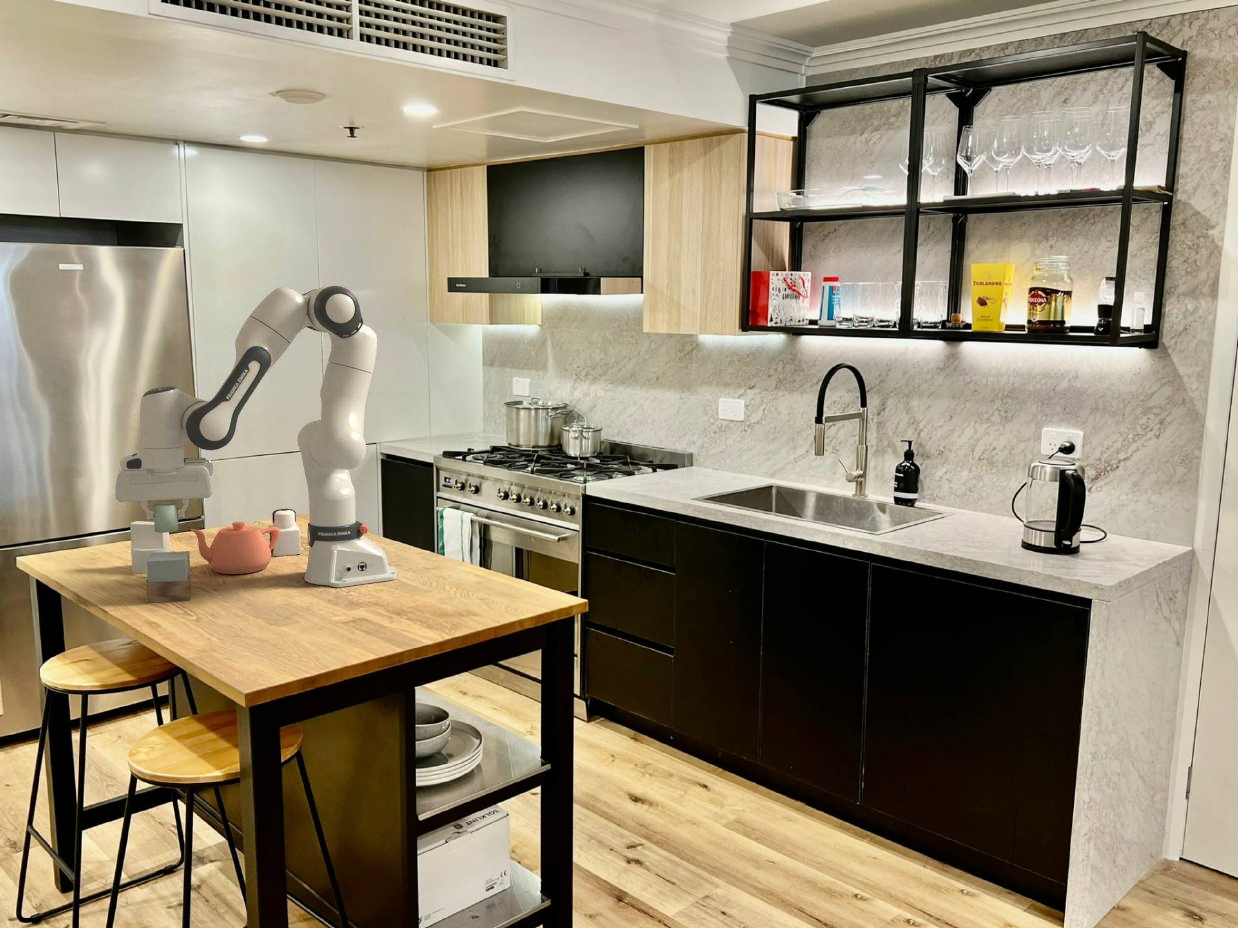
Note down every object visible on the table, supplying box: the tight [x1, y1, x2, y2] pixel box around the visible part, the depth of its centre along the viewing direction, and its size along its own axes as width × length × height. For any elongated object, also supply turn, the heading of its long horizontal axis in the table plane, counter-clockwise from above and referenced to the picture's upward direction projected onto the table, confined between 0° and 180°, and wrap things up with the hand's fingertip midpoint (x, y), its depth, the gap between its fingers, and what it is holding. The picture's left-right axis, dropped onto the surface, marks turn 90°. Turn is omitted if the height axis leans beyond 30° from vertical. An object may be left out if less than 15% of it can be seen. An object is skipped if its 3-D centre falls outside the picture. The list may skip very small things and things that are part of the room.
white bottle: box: [268, 508, 302, 557], centre depth 279 cm, size 7×7×12 cm
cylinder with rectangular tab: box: [129, 520, 171, 575], centre depth 260 cm, size 9×9×12 cm
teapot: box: [189, 521, 280, 575], centre depth 261 cm, size 22×15×12 cm
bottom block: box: [145, 573, 192, 605], centre depth 237 cm, size 9×9×5 cm
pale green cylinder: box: [152, 502, 179, 533], centre depth 234 cm, size 5×5×6 cm
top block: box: [146, 550, 191, 583], centre depth 236 cm, size 8×8×5 cm
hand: (166, 518), depth 235 cm, fingers closed on pale green cylinder, 5 cm apart
